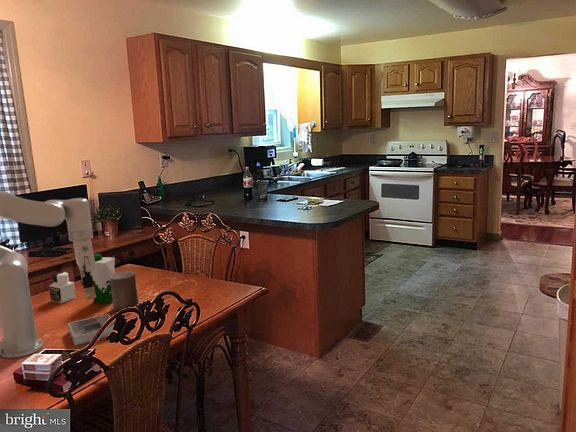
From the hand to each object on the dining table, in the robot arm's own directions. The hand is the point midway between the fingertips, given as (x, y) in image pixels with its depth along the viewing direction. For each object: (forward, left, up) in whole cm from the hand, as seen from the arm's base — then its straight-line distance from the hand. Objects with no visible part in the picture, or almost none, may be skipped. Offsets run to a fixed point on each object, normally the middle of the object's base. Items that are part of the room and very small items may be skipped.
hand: (87, 285), depth 161 cm
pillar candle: (+16, +19, -18) cm, 31 cm away
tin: (0, 0, -18) cm, 18 cm away
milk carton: (+11, +32, -18) cm, 39 cm away
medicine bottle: (-4, +45, -18) cm, 49 cm away
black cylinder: (+1, 0, -5) cm, 5 cm away
